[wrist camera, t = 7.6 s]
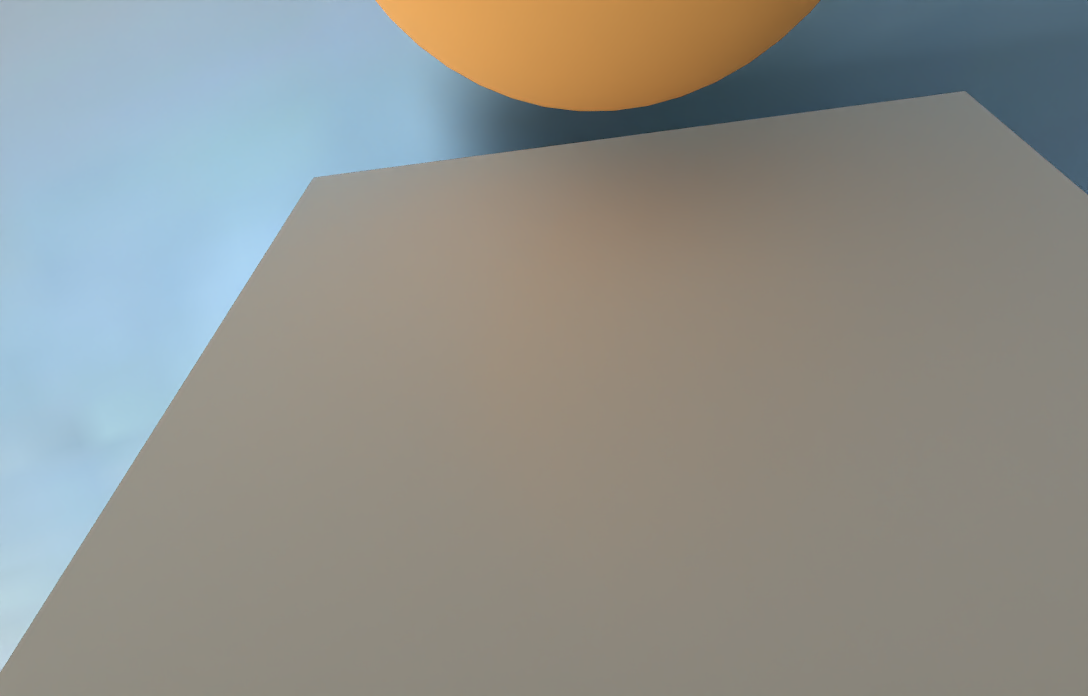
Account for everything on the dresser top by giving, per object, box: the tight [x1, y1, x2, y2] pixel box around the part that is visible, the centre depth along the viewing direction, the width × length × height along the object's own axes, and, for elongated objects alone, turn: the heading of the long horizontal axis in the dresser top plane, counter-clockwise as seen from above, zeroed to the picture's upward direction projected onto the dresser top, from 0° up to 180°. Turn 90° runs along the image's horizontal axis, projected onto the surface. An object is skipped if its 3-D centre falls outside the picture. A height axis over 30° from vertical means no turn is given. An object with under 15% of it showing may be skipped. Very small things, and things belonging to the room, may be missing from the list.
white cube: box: [0, 91, 1088, 696], centre depth 8 cm, size 8×8×8 cm
